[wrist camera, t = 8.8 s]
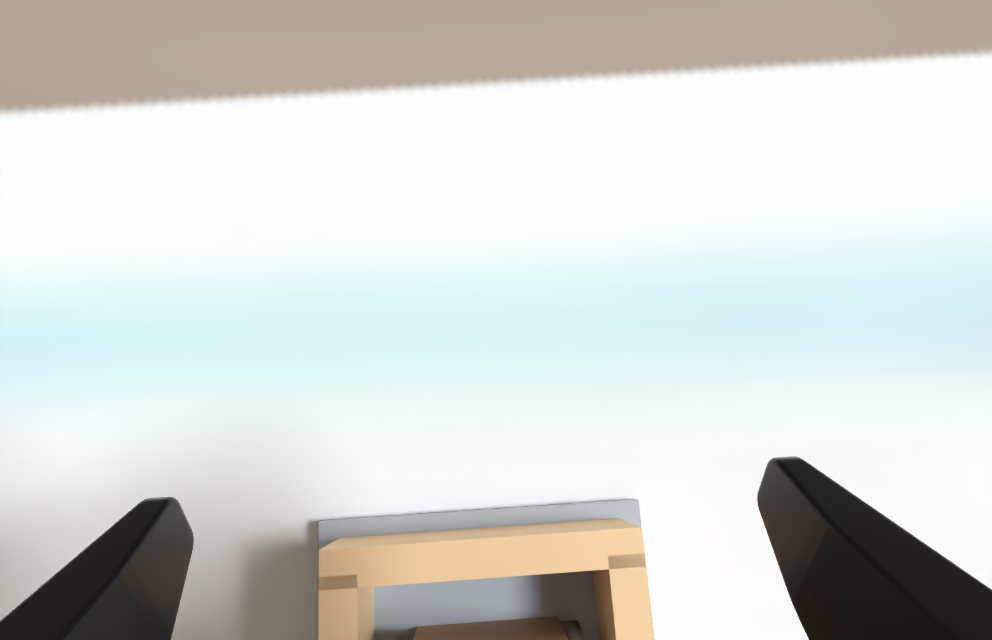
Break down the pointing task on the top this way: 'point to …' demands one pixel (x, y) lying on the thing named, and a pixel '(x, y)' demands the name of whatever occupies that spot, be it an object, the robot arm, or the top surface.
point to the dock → (485, 570)
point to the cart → (500, 630)
